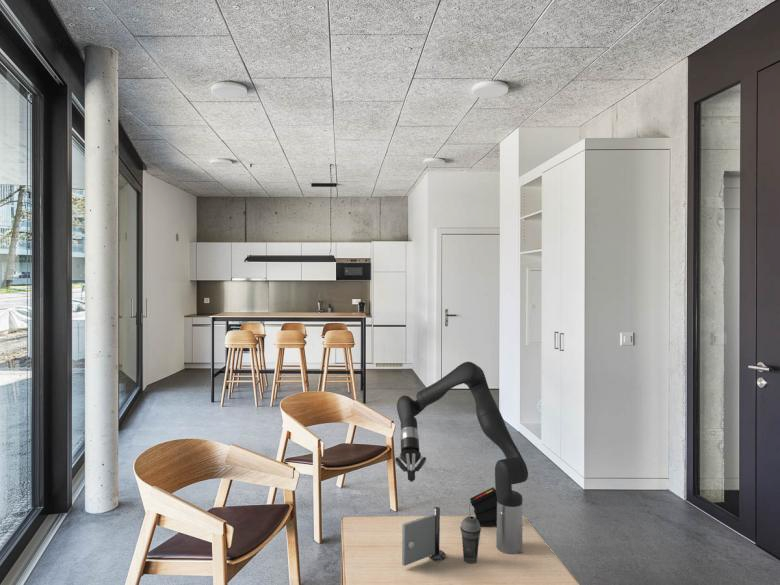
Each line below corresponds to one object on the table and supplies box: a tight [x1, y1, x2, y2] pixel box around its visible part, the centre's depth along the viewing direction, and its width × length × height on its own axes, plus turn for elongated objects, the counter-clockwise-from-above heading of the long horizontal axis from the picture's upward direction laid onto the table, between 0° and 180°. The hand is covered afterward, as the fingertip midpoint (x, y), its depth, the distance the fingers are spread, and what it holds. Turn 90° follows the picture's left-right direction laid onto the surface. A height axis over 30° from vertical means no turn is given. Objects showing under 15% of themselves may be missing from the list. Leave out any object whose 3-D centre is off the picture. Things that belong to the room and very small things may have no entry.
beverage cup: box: [459, 502, 482, 565], centre depth 198 cm, size 7×7×20 cm
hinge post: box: [427, 506, 446, 562], centre depth 201 cm, size 6×6×18 cm
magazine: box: [469, 487, 497, 528], centre depth 227 cm, size 4×13×15 cm, turn 93°
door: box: [401, 513, 435, 567], centre depth 196 cm, size 14×2×14 cm, turn 127°
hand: (411, 480), depth 219 cm, fingers closed
